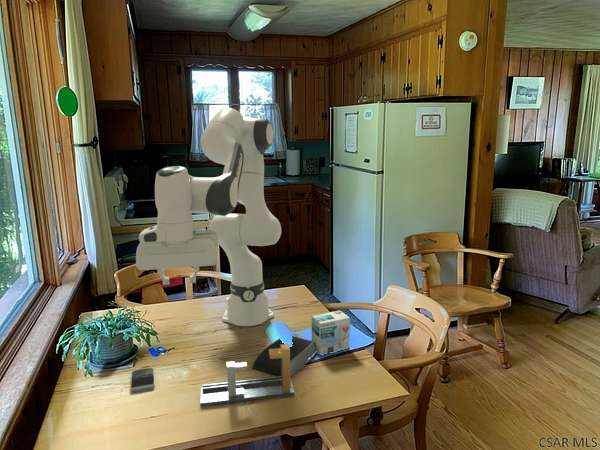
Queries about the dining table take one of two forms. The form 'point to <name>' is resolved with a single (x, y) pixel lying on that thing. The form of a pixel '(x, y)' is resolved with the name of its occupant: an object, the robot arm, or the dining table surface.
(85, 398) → the dining table surface
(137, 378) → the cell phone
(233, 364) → the retention clip
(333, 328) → the light bulb box
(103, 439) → the dining table surface
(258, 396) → the sliding rail fixture
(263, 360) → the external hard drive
